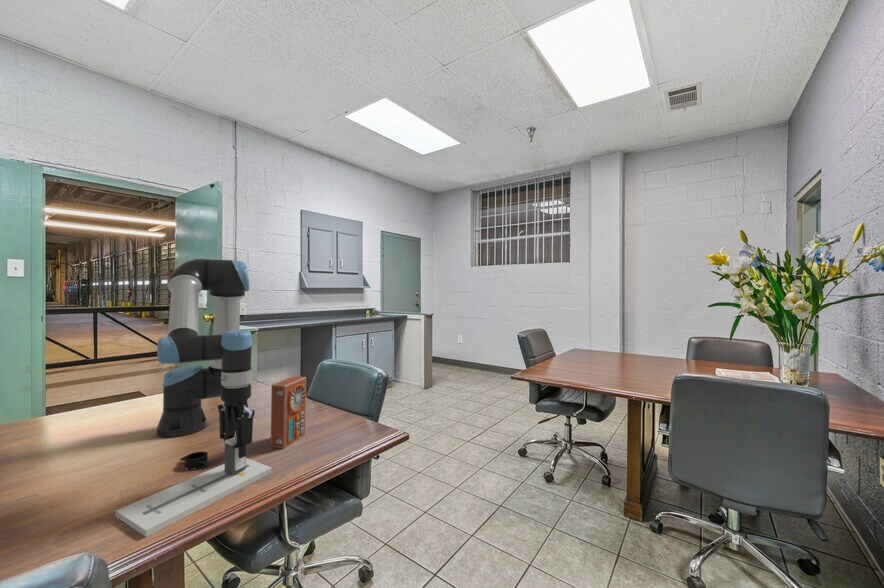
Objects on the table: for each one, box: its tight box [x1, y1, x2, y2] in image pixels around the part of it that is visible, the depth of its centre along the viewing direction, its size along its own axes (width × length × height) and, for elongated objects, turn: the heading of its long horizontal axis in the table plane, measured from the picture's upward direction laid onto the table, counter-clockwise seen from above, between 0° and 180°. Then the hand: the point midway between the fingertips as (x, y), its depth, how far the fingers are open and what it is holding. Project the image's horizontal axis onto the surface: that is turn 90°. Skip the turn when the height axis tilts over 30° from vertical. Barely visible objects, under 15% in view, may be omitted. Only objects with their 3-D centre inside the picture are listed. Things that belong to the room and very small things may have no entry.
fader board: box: [115, 457, 273, 538], centre depth 94 cm, size 14×31×2 cm, turn 153°
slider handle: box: [224, 436, 247, 475], centre depth 102 cm, size 4×4×9 cm
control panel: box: [270, 375, 307, 449], centre depth 127 cm, size 21×7×15 cm
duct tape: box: [179, 451, 214, 470], centre depth 108 cm, size 8×10×3 cm
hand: (235, 466), depth 102 cm, fingers closed on slider handle, 3 cm apart
